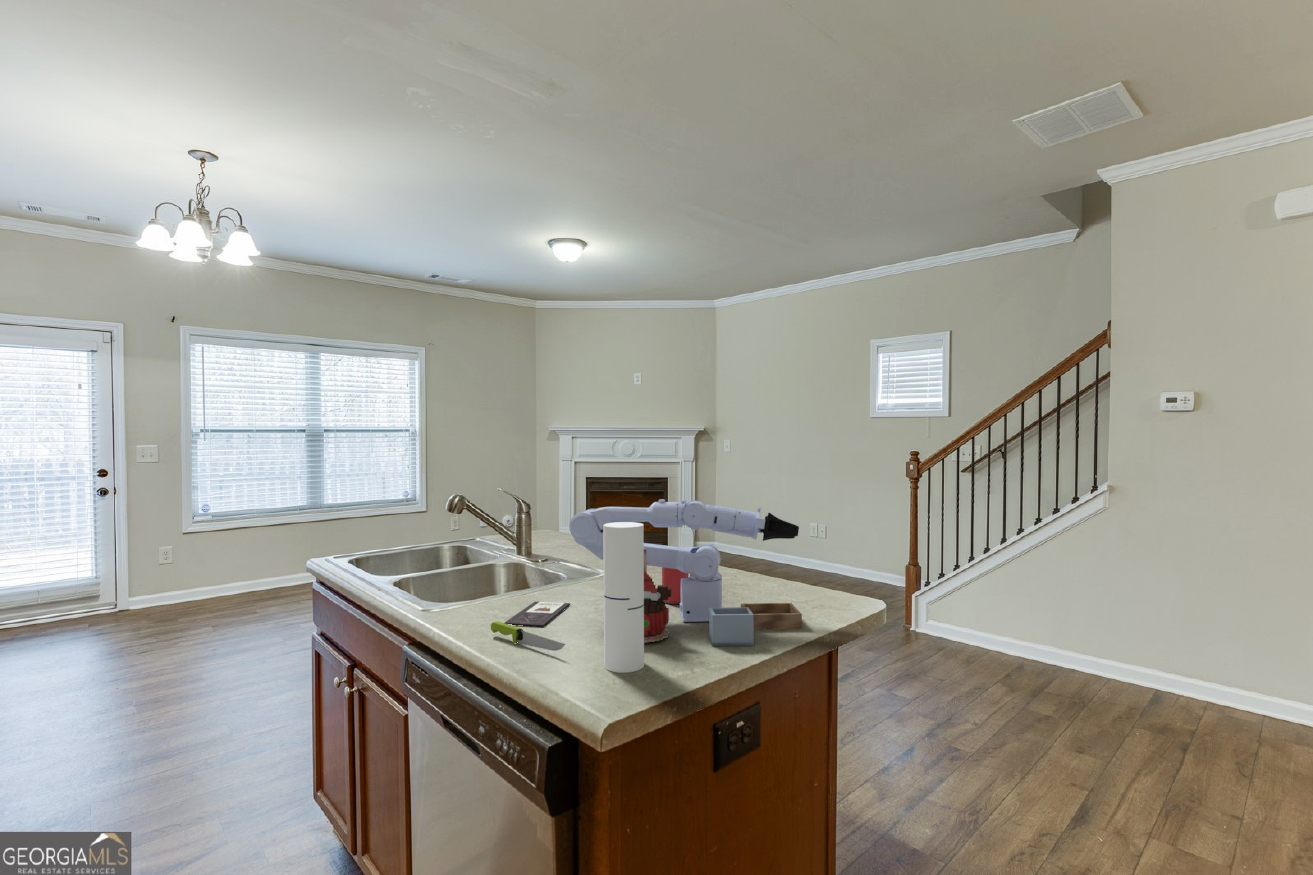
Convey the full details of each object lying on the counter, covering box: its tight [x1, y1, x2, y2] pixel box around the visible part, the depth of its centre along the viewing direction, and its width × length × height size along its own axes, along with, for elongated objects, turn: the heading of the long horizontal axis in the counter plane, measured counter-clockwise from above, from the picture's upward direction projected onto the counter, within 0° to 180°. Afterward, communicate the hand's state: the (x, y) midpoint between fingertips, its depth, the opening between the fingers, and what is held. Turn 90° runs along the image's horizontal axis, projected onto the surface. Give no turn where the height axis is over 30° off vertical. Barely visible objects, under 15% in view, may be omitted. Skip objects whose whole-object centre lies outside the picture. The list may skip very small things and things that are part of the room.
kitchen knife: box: [490, 620, 566, 652], centre depth 122 cm, size 22×1×3 cm, turn 50°
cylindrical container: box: [603, 522, 645, 674], centre depth 112 cm, size 7×7×25 cm
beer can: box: [661, 567, 690, 605], centre depth 156 cm, size 7×7×12 cm
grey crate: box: [708, 606, 755, 647], centre depth 125 cm, size 8×5×6 cm
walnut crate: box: [740, 602, 803, 631], centre depth 137 cm, size 11×9×4 cm
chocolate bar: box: [504, 601, 571, 628], centre depth 144 cm, size 9×1×18 cm
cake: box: [644, 549, 671, 644], centre depth 127 cm, size 11×9×18 cm
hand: (796, 532), depth 138 cm, fingers open, 7 cm apart
